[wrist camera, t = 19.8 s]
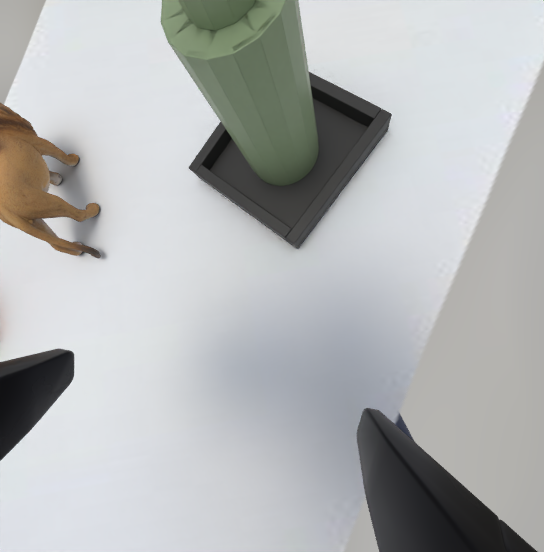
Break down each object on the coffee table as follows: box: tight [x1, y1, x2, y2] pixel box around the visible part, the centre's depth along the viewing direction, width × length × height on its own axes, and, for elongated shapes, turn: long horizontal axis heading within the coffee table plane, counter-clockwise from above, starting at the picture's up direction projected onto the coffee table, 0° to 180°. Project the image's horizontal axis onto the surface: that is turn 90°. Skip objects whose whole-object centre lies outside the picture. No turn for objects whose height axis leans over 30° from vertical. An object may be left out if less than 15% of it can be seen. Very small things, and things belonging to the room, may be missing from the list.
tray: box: [189, 72, 392, 249], centre depth 20 cm, size 11×11×2 cm
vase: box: [161, 0, 319, 186], centre depth 14 cm, size 5×5×14 cm
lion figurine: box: [0, 103, 101, 258], centre depth 22 cm, size 15×5×9 cm, turn 35°
